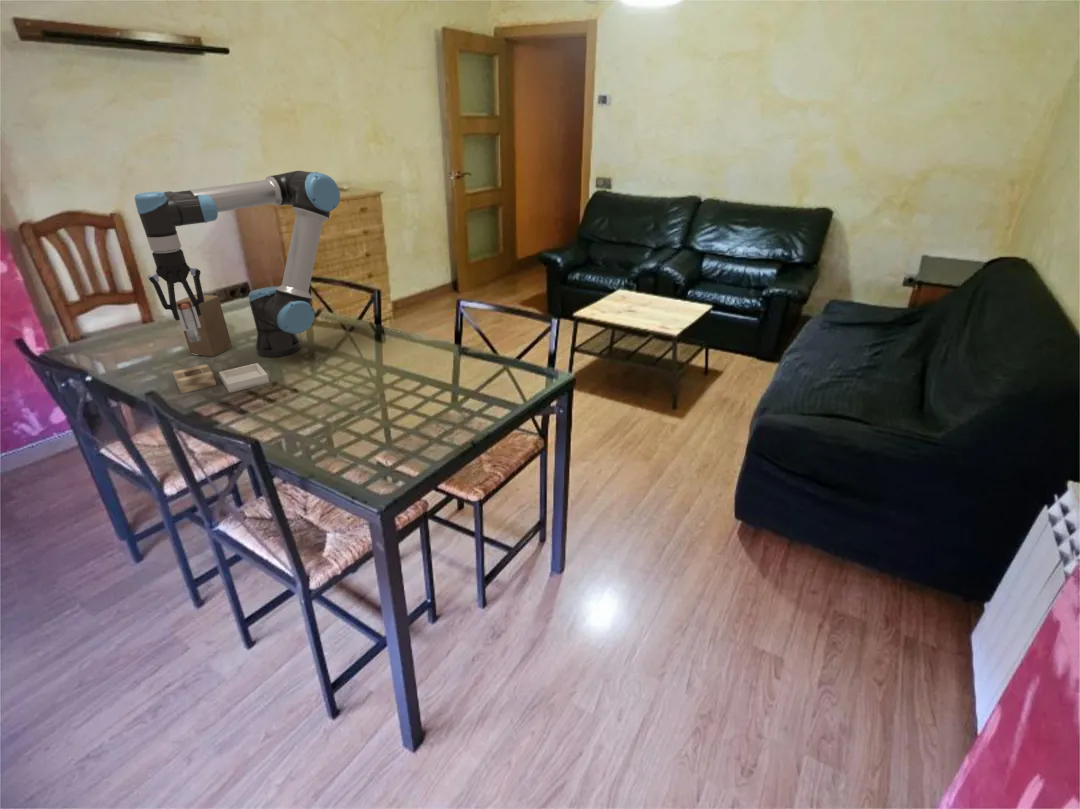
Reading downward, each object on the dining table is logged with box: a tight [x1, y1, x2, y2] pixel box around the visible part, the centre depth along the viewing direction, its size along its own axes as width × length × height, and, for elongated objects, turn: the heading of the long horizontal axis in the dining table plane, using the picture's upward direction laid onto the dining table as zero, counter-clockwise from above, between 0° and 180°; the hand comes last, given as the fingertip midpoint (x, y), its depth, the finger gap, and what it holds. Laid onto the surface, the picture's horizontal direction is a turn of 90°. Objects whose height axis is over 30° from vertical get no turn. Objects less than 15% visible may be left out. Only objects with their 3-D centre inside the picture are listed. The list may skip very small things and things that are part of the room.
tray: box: [218, 362, 270, 394], centre depth 184 cm, size 12×12×3 cm
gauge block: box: [172, 363, 217, 394], centre depth 182 cm, size 10×10×4 cm
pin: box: [177, 301, 201, 342], centre depth 170 cm, size 3×3×12 cm
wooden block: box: [176, 293, 233, 358], centre depth 204 cm, size 10×10×20 cm
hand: (191, 327), depth 171 cm, fingers closed on pin, 3 cm apart
